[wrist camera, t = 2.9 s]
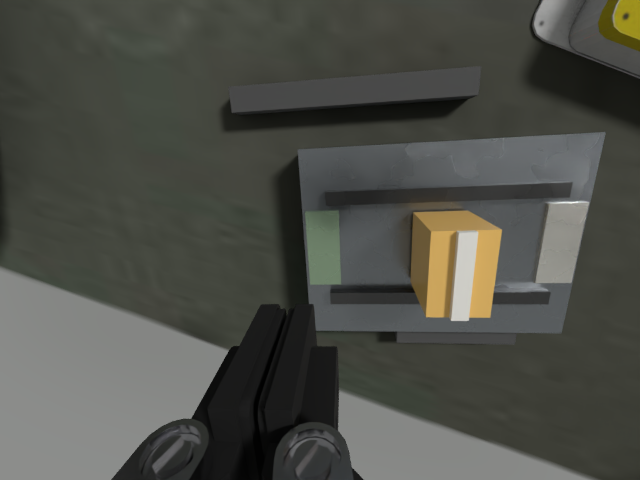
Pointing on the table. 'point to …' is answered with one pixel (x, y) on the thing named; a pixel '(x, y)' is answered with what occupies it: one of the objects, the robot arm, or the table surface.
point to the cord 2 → (455, 337)
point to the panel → (445, 195)
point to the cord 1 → (356, 91)
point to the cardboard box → (454, 264)
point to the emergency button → (593, 30)
